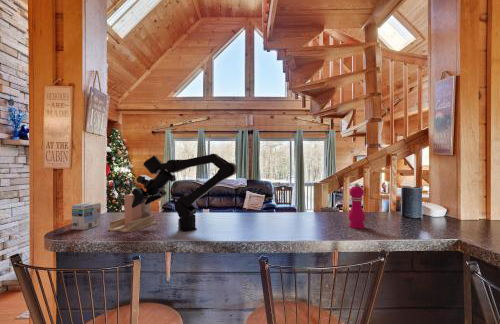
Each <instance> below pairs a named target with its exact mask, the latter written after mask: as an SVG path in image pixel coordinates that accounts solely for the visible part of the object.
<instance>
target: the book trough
mask: <svg viewBox="0 0 500 324" xmlns="http://www.w3.org/2000/svg"><path fill="white" fill-rule="evenodd" d="M155 224H157V221H155V215H153V214H152V202H151V203H149V204H147V205H145V202H143V203H142V204H141V219H139V220H135V221H132V222H129V223H127V226H125V217H122V218H119V219H115V220H111V221H109V227H108V228H107V231H109V230H110V231H111V232H126V233H134V232H135V231H138V230H141V229H144V228H148V227H150V226H153V225H155ZM110 231H109V232H110Z"/></svg>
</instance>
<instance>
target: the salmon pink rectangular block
mask: <svg viewBox="0 0 500 324" xmlns="http://www.w3.org/2000/svg"><path fill="white" fill-rule="evenodd" d="M133 201H134V195H133V194H132V193H131V194H129V193H128V194H124V218H125V226H127V223H129V222H132V221H135V220H139V219H141V204H140V205H138V206H136V207H134V208H132V203H133Z"/></svg>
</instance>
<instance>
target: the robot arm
mask: <svg viewBox="0 0 500 324" xmlns="http://www.w3.org/2000/svg"><path fill="white" fill-rule="evenodd" d="M209 164H213V166H215V167H216V168H218V170H217V171H216V173H215V174H214V175H213V176H212V177H210V178H209V179H208V180H206V181H205V182H204V183H203V184H201V185H199V187H198V188H196V189H195V190H194V191H192V192H191V193H189V192H186V193H183V194H182V195H181V196H180V197H179V198H176V201H174V205H173V207H174V210H175V211H176V213H177V215H178V217H179V218H178V220H177V221H178V223H177V225H178V226H177V228H178V230H180V231H182V232H187V231H188V232H191V231H195V230H198V228H197V227H196V214H197V210H198V209H197V208H196V207H195V206H194V205H195V204H196V203H197V201H198V200H199V199H200V198H201V197H203V196H204V195H206V194H207V193H209V191H211V190H212V189H214V187H216V186H218V184H220V183H221V182H223V181H225V180H227V179H228V178H230V177H233V176H234V175H236V174H237V172H238V166H237V165H236V163H234V162H229V161H227V160H226V159H224V158H223V157H221V156H219V155H218V153H209V154H206V155H202V156H195V157H192V158H191V157H190V158H186V159H168V160H167V161H166V162H162V161H161V160H160V159H159V158H158V156H156V155H152V156H151V157H150V158H148V159H146V160H145V161H144V162H143V164H142V165H143V167H144V168H145V169H146V170H147V171H148V172H149V173H150V174H151V175H155V176H154V178H152V177H150V176H148V175H146V174H140V175H138V177H136V181H137V183H138V184H140V185H143V188H144V189H145V190H144V189H143V188H142V187H136V188H133V189H132V190H131V194H133V195H134V201H133V203H132V208H134V207H136V206H138V205H140V204H142V203H143V202H145V205H147V204H149V203H151V204H152V203H153V202H155V201H158V200H160V199H162V198H164V197H166V195H167V191H166V190H165V189H166V186H167V184H168V183H169V182H171V183H172V182H175V181H177V179H176V175H175V174H174V173H179V172H182V171H185V170H187V169H189V168H193V167H198V166H203V165H209Z"/></svg>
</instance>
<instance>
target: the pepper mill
mask: <svg viewBox="0 0 500 324" xmlns="http://www.w3.org/2000/svg"><path fill="white" fill-rule="evenodd" d="M364 194H365V192H364V189H363V187H361V186H360V185H359V183H358V182H356V183H354V186H352V187H351V188H350V189H349V195H350V201H351V208H350V210H349V213H348V216H347V218H348V220H349V221H350V222H349V227H350V228H351V229H359V230H361V229H364V228H365V223H364V222H365V220H366V214H365V212H364V210H363V207H362V202H363V196H364Z"/></svg>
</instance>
